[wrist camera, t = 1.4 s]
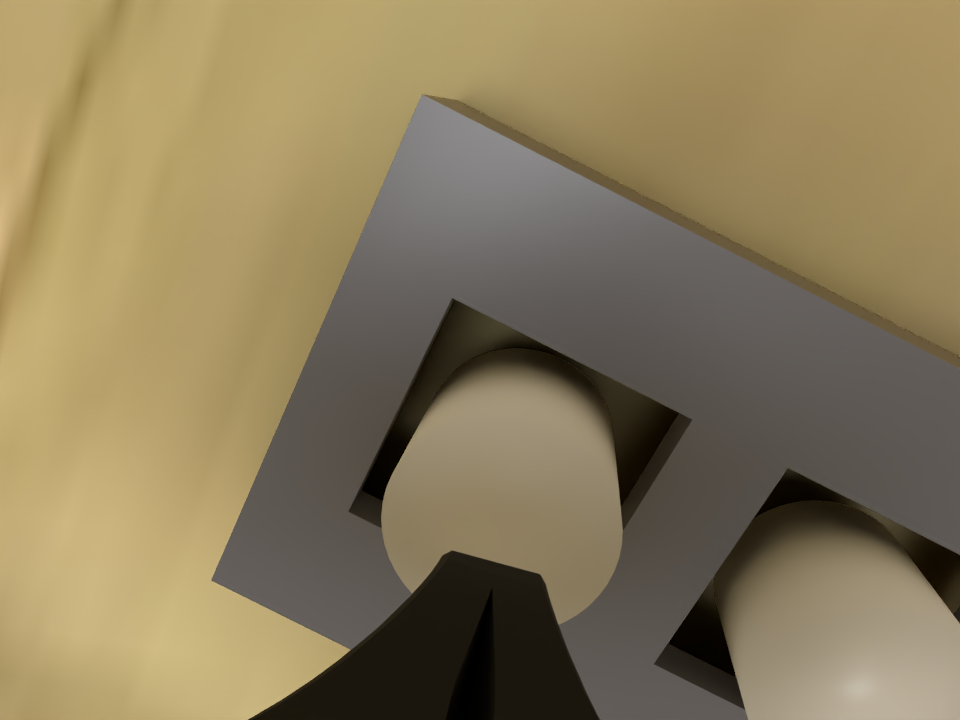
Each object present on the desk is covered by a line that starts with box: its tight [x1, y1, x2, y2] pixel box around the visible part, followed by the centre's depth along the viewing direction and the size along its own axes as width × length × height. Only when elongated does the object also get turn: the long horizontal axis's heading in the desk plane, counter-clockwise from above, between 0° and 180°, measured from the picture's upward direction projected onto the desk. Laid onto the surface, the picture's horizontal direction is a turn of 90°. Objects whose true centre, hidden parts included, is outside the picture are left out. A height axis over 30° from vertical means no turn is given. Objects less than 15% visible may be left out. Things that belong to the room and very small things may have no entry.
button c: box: [381, 348, 623, 625], centre depth 15 cm, size 4×4×4 cm
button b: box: [714, 501, 960, 720], centre depth 15 cm, size 4×4×4 cm
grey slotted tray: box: [212, 94, 960, 720], centre depth 18 cm, size 23×11×4 cm, turn 64°
